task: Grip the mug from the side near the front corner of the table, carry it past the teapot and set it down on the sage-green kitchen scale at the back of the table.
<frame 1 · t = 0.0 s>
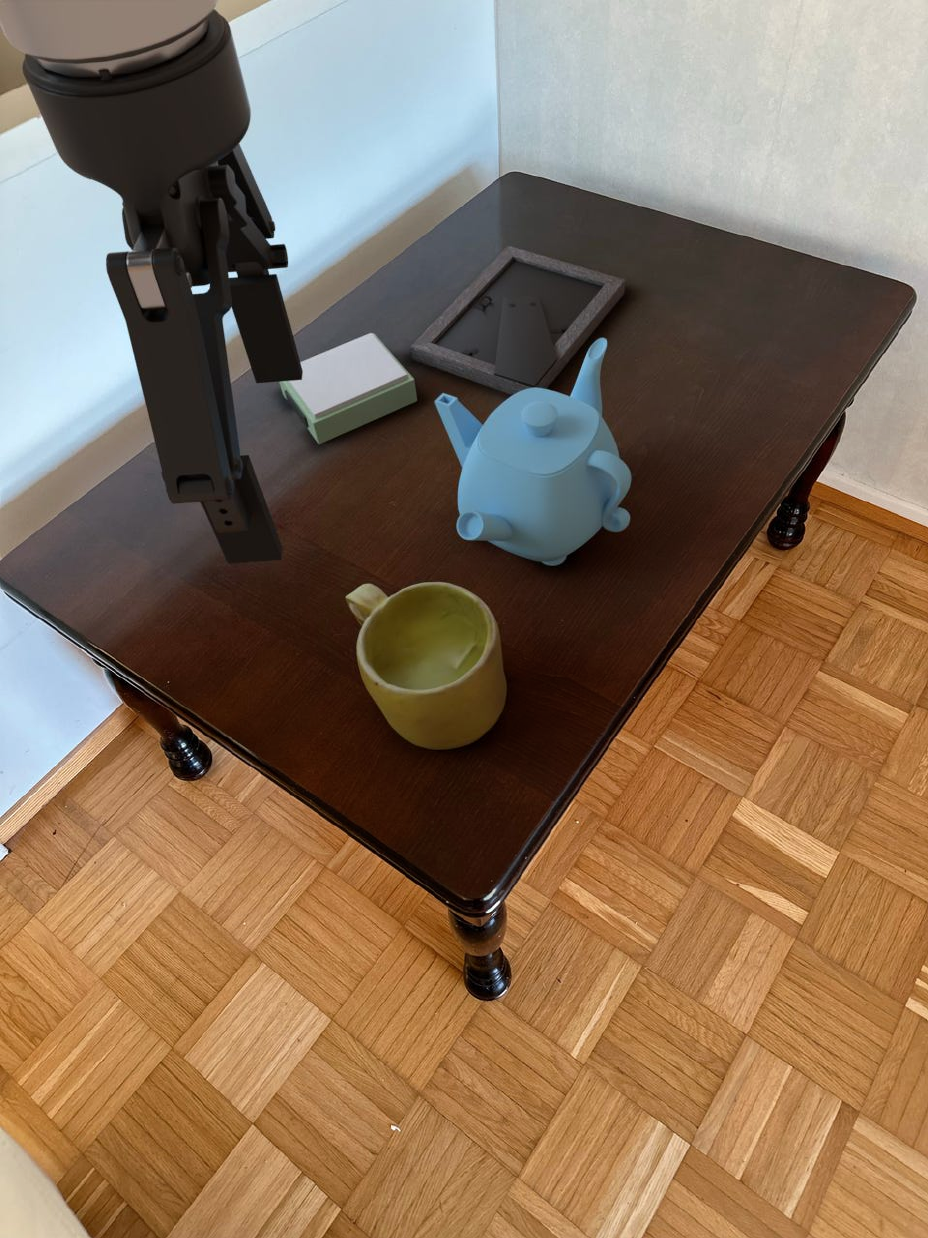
hand: (268, 460, 49), 21 cm above the table, tool pointing down, fingers open, 13 cm apart
picture frame: (520, 327, 88), on the table
mug: (426, 687, 65), on the table
teapot: (533, 516, 74), on the table
scale: (349, 397, 84), on the table
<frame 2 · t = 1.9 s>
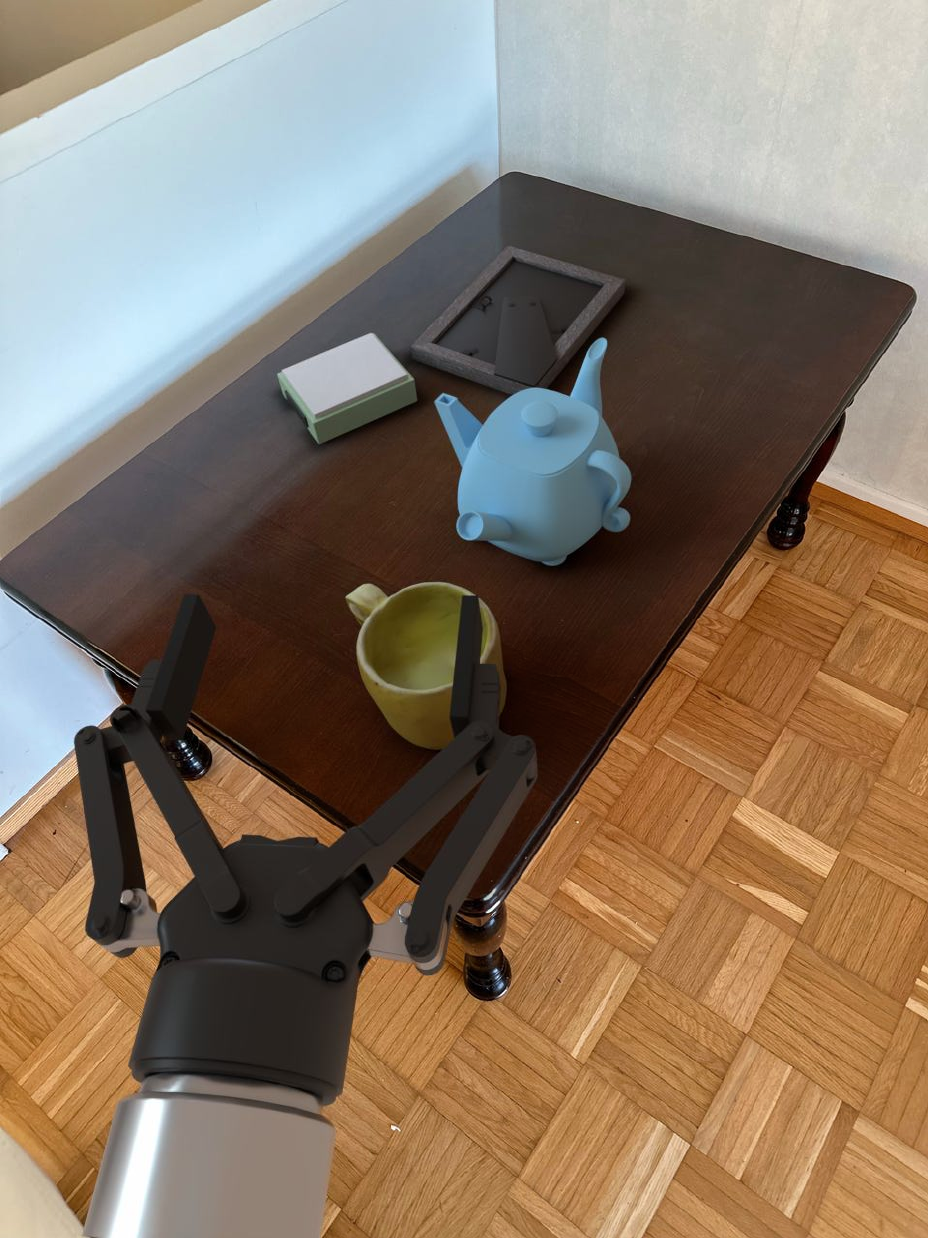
hand: (334, 610, 44), 20 cm above the table, tool horizontal, fingers open, 13 cm apart
nothing on the table moved.
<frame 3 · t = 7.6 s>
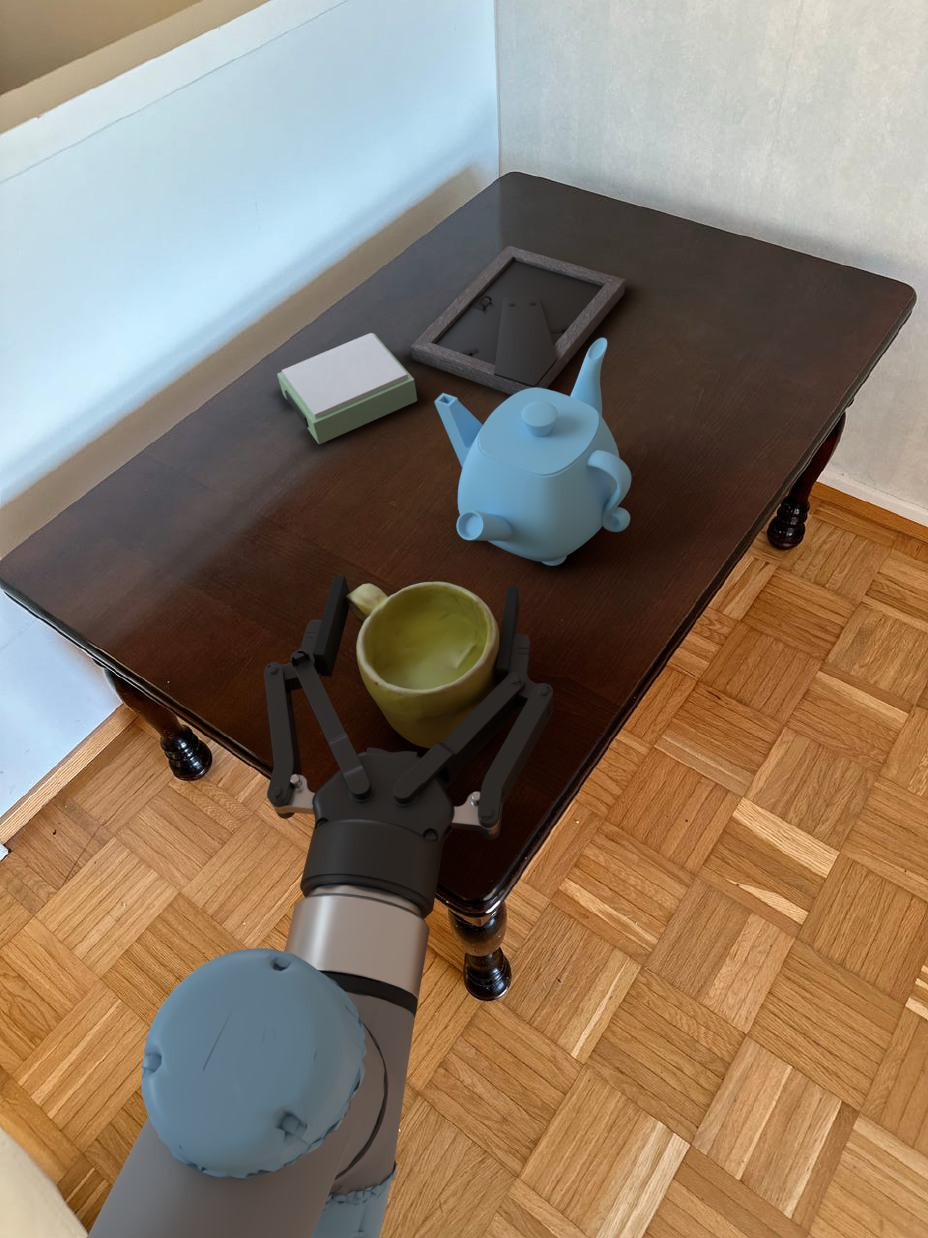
hand: (427, 592, 62), 6 cm above the table, tool horizontal, fingers closed on mug, 11 cm apart
mug: (426, 686, 65), on the table, touching gripper
everything else where it was.
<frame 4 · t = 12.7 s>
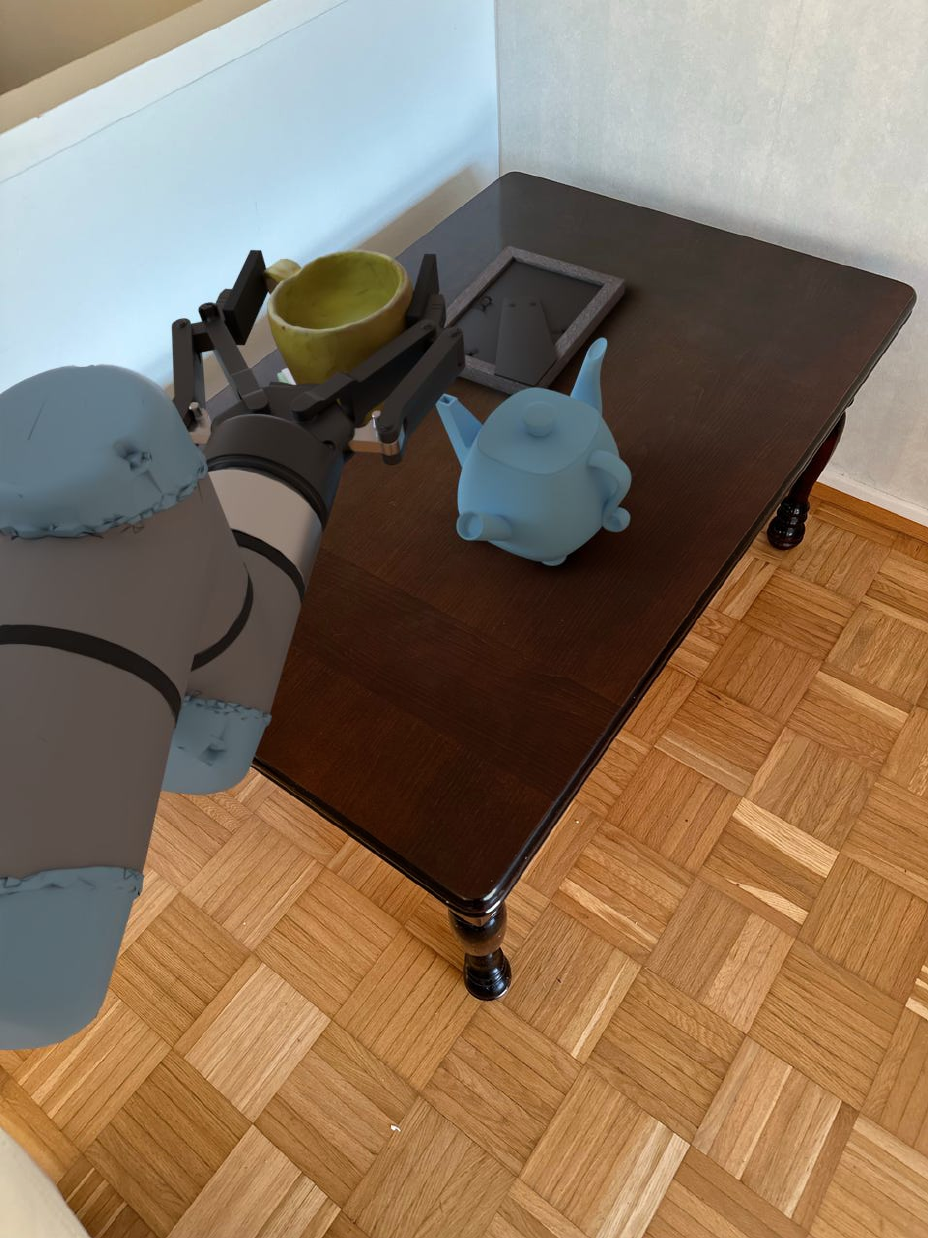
hand: (345, 269, 61), 20 cm above the table, tool horizontal, fingers closed on mug, 11 cm apart
mug: (348, 380, 64), point 14 cm above the table, touching gripper
everything else where it was.
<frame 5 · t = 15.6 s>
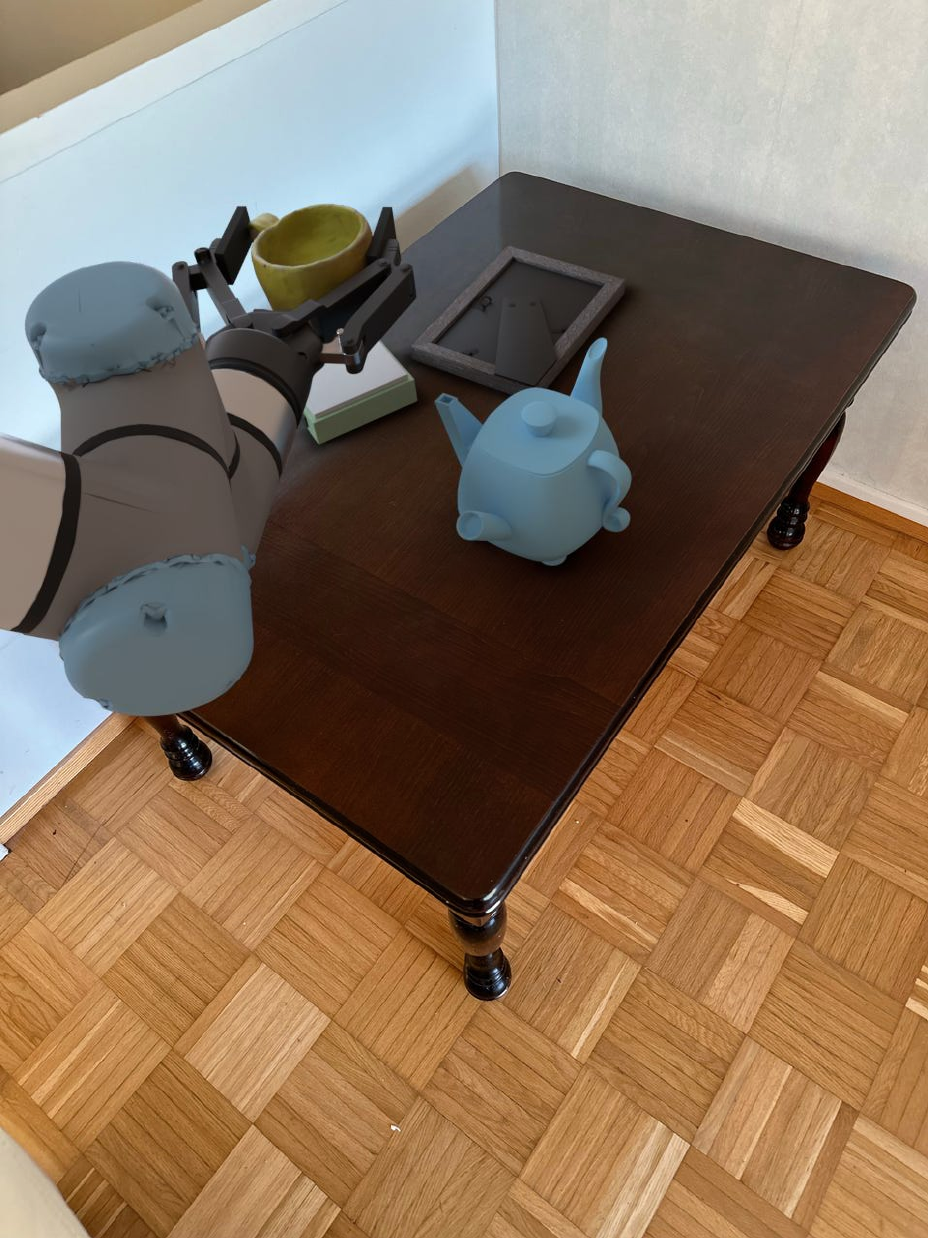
hand: (317, 222, 73), 16 cm above the table, tool horizontal, fingers closed on mug, 11 cm apart
mug: (321, 317, 75), point 9 cm above the table, touching gripper
everything else where it was.
when the fingers open (9 cm above the table, at t = 18.0 s): mug stays where it is, resting on scale.
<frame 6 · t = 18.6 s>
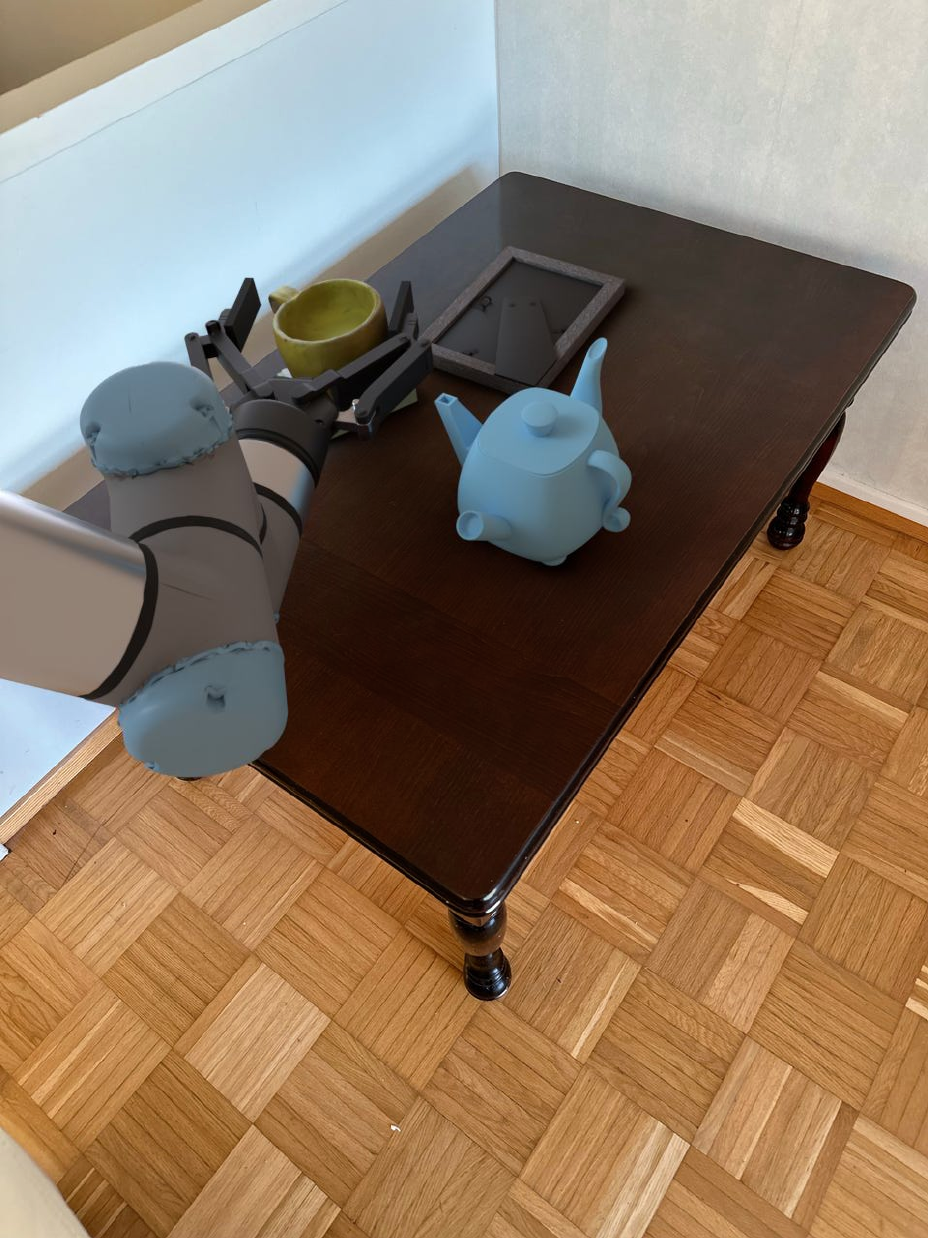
hand: (329, 292, 77), 10 cm above the table, tool horizontal, fingers open, 13 cm apart
mug: (336, 380, 81), point 3 cm above the table, touching scale
everything else where it was.
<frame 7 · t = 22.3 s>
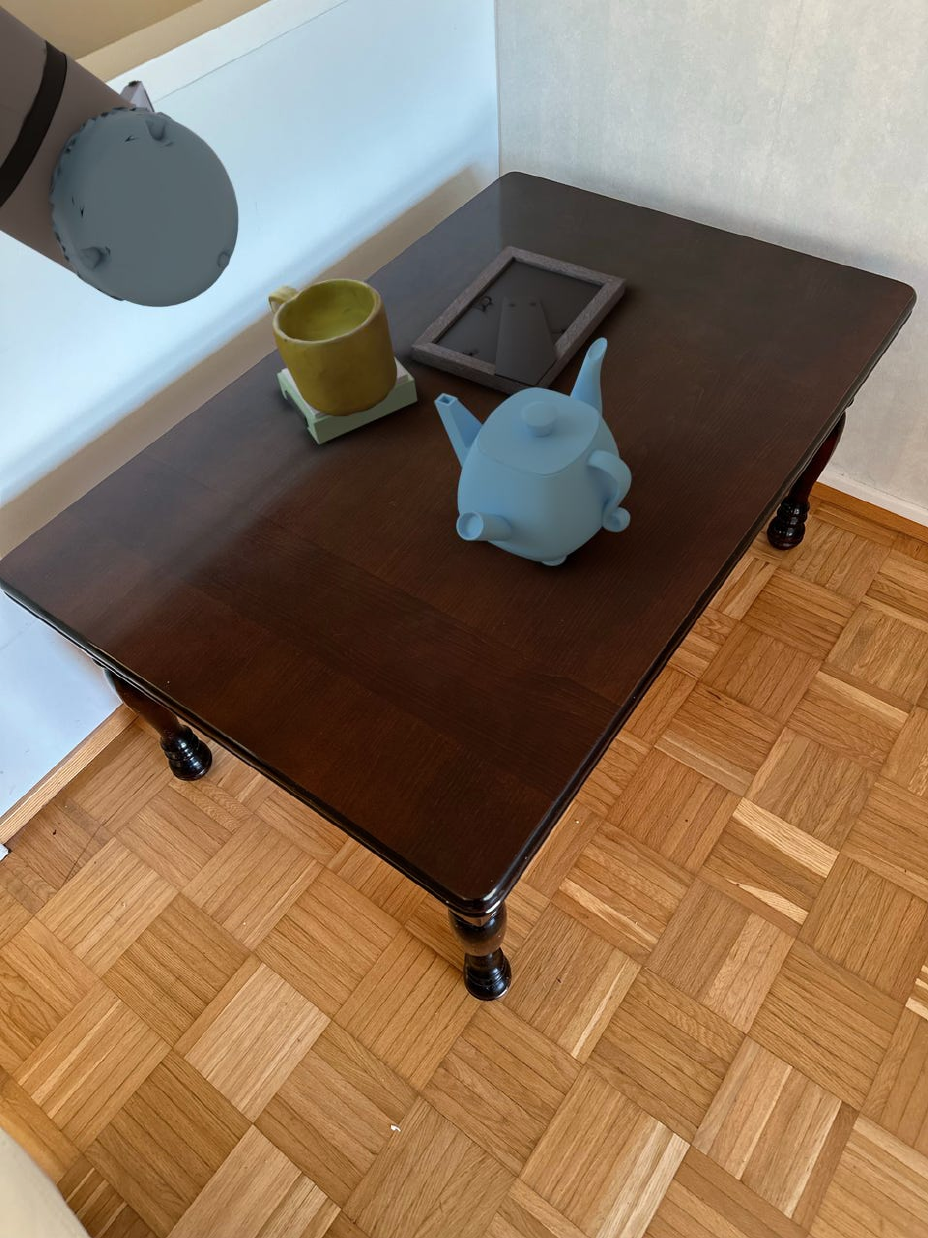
nothing on the table moved.
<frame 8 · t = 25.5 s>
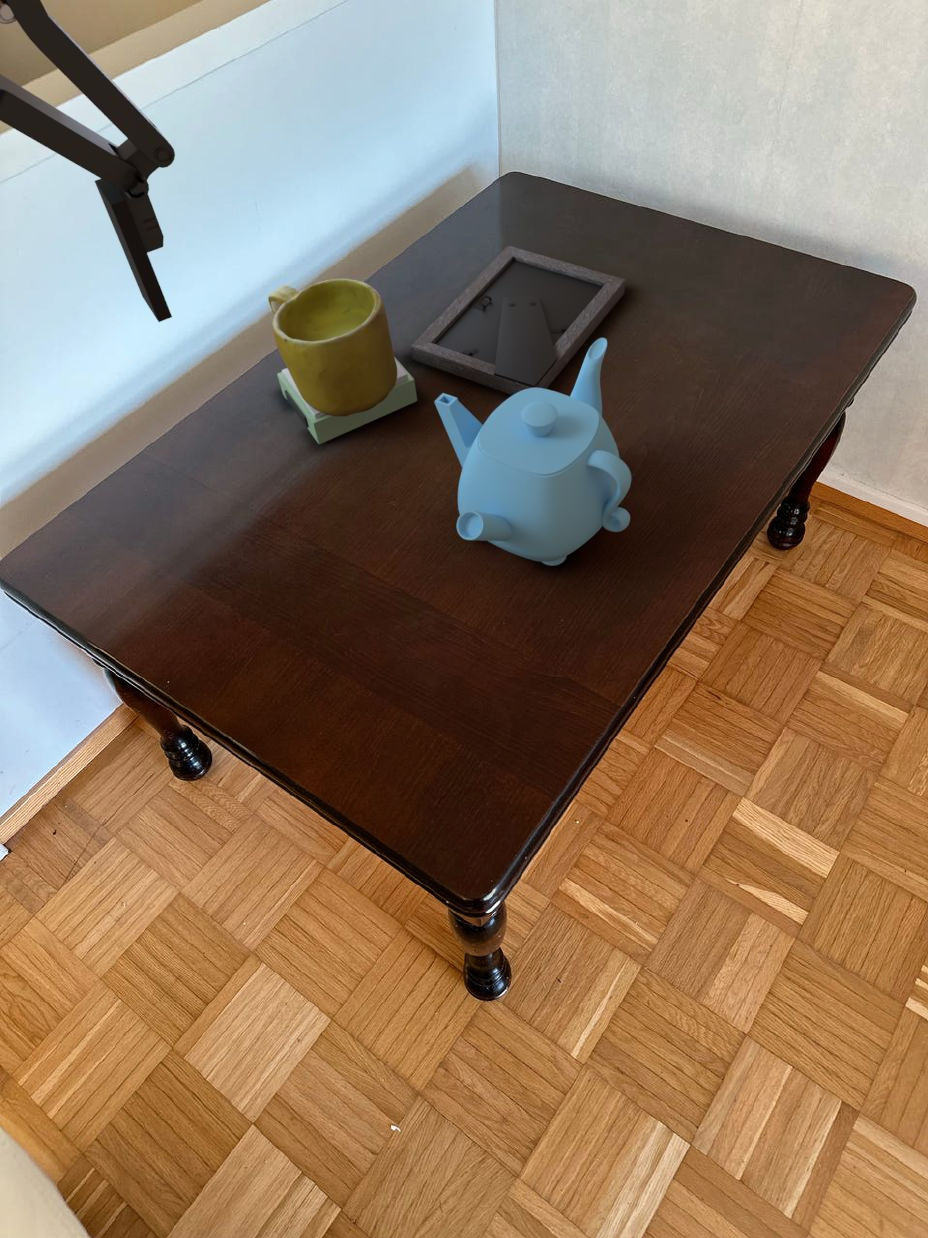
hand: (34, 355, 47), 27 cm above the table, tool pointing down, fingers open, 13 cm apart
nothing on the table moved.
at the end: mug inside the target area on the scale (1.1 cm from its centre), point 2.8 cm above the scale's base; mug tilted 0° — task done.
